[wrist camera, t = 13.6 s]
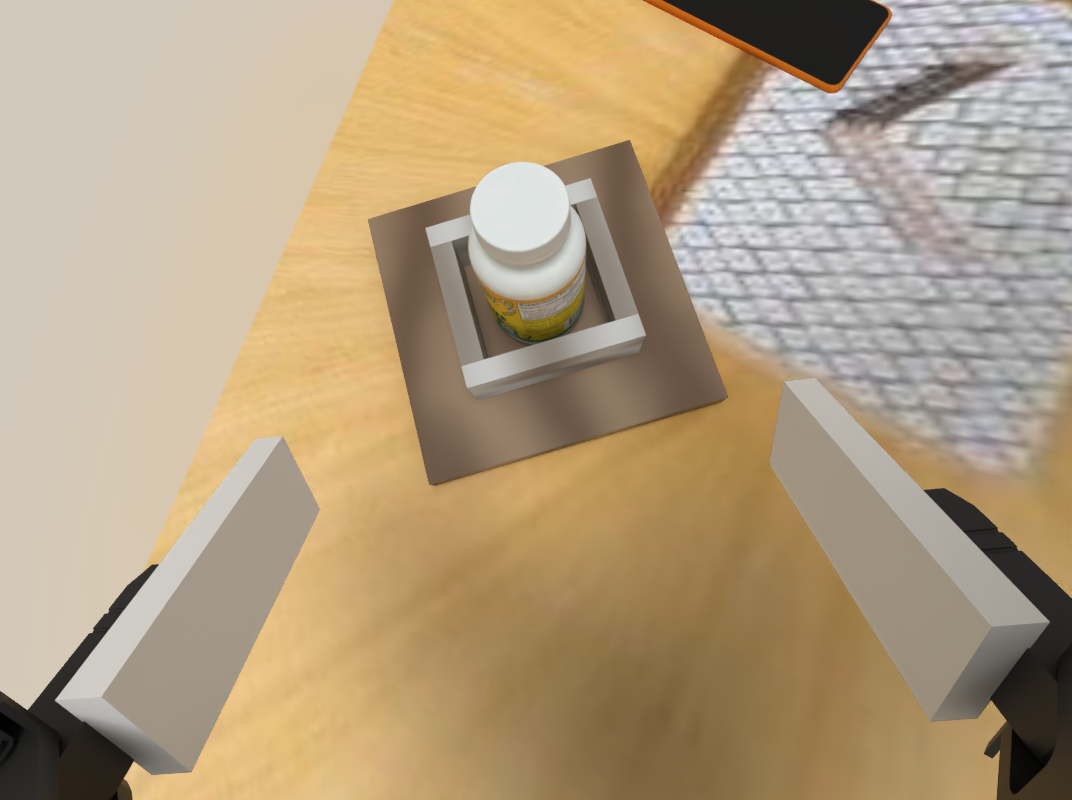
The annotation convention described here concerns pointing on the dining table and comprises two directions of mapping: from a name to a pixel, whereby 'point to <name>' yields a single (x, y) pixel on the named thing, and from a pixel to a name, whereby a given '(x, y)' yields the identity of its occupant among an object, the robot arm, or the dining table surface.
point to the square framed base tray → (552, 366)
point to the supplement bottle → (528, 251)
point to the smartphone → (792, 32)
